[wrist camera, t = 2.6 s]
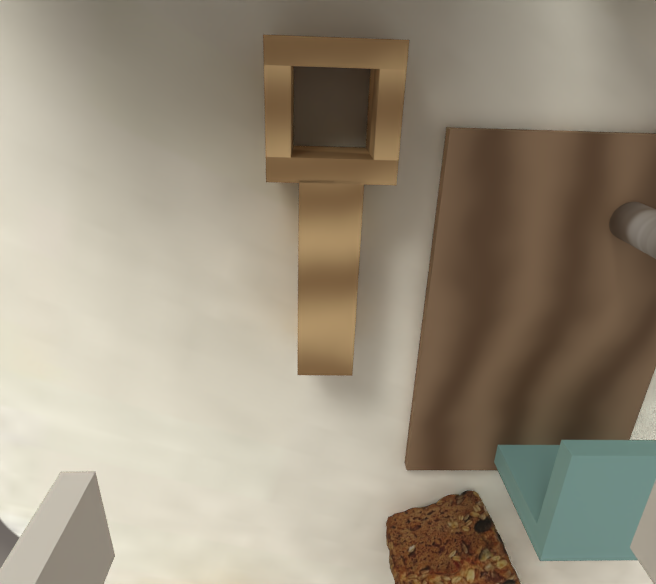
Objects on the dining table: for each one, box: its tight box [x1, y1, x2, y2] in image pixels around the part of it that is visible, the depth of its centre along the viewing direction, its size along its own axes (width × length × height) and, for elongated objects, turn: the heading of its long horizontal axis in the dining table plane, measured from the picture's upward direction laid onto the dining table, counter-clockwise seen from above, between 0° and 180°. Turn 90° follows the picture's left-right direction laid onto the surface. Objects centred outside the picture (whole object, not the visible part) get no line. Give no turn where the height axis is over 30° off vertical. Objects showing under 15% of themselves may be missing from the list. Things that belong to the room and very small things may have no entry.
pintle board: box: [405, 127, 656, 470], centre depth 38 cm, size 20×30×6 cm, turn 178°
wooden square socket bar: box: [263, 35, 409, 375], centre depth 34 cm, size 22×8×5 cm, turn 178°
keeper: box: [494, 440, 656, 561], centre depth 39 cm, size 12×10×11 cm
